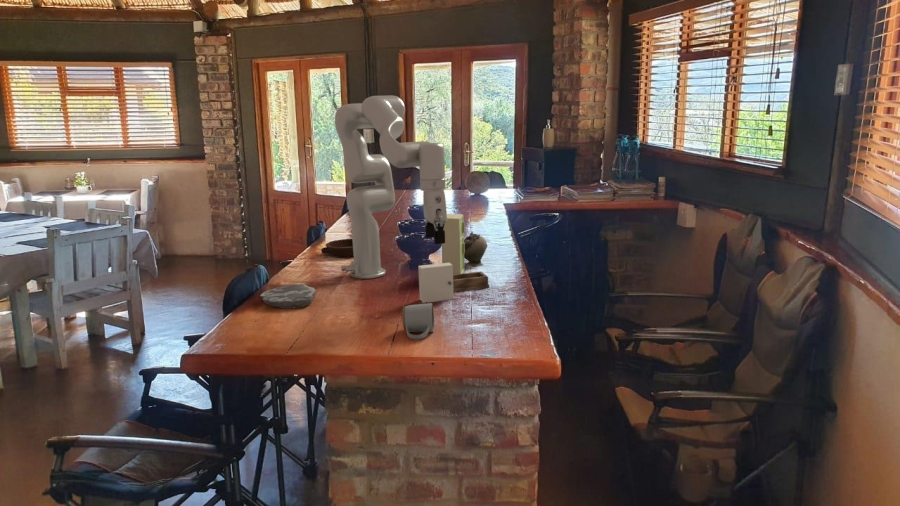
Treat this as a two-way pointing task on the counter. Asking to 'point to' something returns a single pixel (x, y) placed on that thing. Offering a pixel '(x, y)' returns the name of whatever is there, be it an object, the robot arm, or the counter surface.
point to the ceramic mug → (418, 320)
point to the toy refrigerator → (454, 242)
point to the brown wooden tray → (470, 281)
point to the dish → (339, 248)
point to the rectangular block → (436, 282)
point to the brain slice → (289, 296)
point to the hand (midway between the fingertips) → (435, 240)
